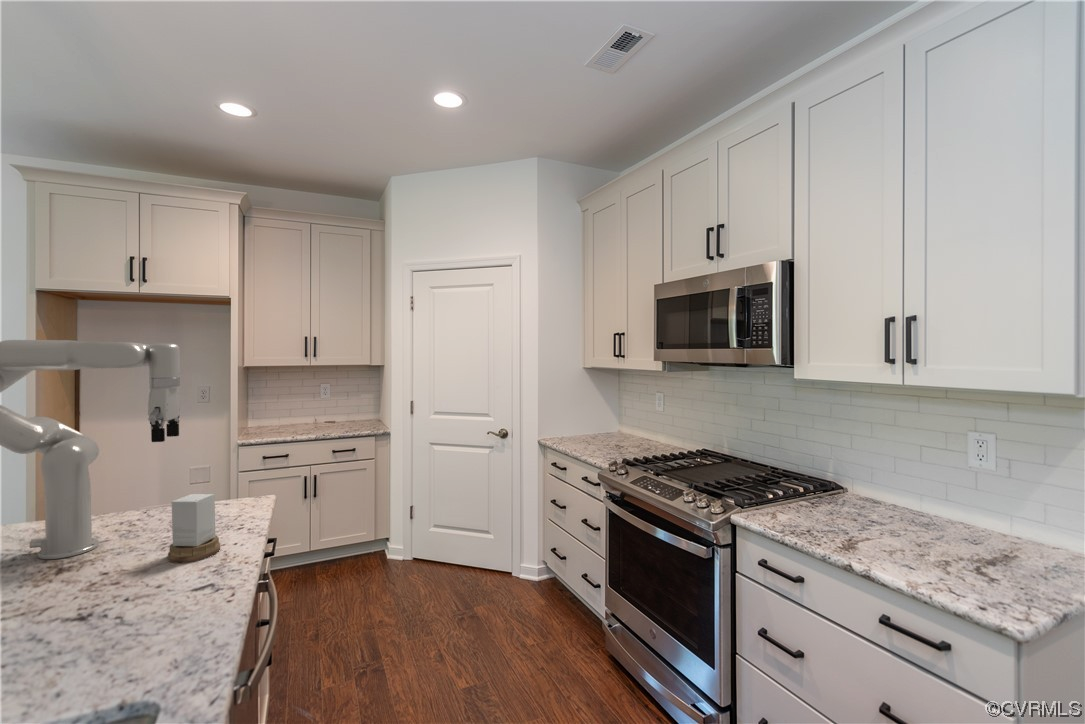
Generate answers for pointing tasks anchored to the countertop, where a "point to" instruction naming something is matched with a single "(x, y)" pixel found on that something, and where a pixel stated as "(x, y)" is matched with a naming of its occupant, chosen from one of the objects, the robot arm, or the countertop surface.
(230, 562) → the countertop surface
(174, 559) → the coaster tray
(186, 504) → the supplement box
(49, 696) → the countertop surface
